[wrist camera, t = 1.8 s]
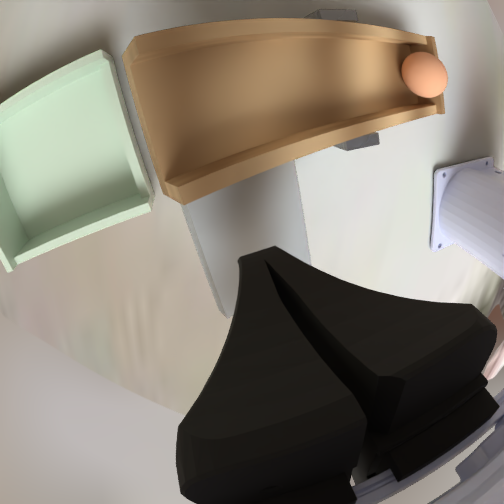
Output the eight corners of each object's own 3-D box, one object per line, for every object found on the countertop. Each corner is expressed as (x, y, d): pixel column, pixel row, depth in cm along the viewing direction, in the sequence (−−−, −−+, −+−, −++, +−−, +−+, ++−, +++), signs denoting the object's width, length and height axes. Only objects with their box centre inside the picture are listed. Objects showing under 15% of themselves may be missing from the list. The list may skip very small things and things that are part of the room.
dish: (112, 56, 13) (97, 46, 10) (154, 195, 18) (150, 215, 15) (-18, 129, 12) (-48, 137, 9) (28, 246, 17) (7, 272, 14)
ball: (412, 53, 15) (450, 53, 12) (418, 95, 16) (456, 98, 14) (388, 51, 14) (431, 49, 11) (396, 97, 15) (438, 100, 13)
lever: (401, 38, 15) (434, 37, 13) (417, 186, 21) (446, 194, 19) (121, 56, 8) (137, 31, 6) (209, 315, 14) (239, 346, 12)
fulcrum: (320, 26, 15) (363, 10, 10) (341, 130, 18) (386, 142, 14) (149, 58, 14) (138, 40, 9) (181, 171, 17) (183, 195, 13)
